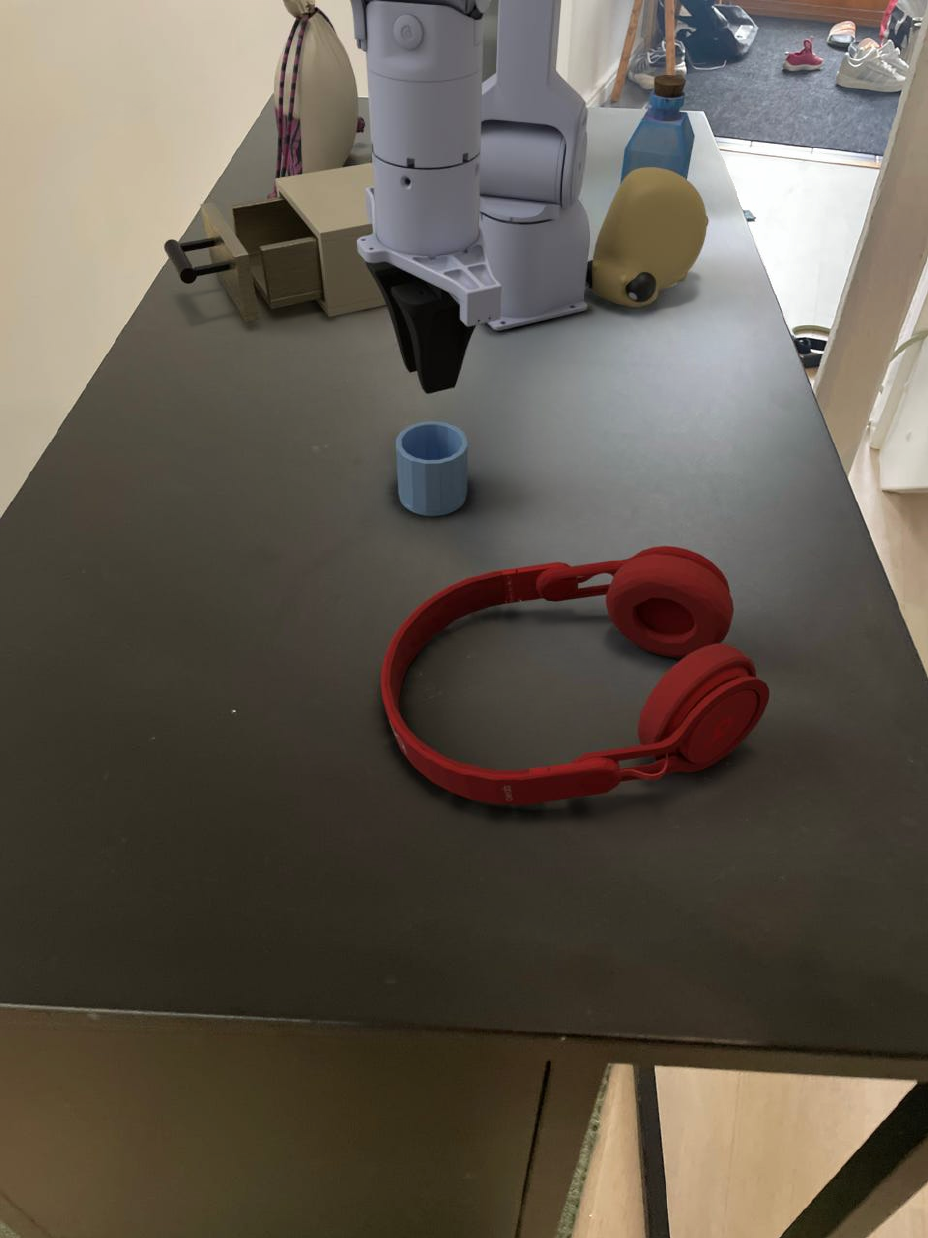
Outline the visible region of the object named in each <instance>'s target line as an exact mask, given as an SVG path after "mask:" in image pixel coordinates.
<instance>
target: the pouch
mask: <svg viewBox="0 0 928 1238" xmlns="http://www.w3.org/2000/svg"><path fill="white" fill-rule="evenodd" d="M282 2H283V5H284V7H285V9H286V11H287V12H288V13H289V14H290V15H291V16H292V17H293V18H295V20H294V22H293V24H292V27H291V30H290V32H289V35H288V37H287V40H286V41H285V43H284V46H283V48H282V51H281V53H280V55H279V59H278V61H277V65H276V69H275V75H274V80H273V81H274V83H273V102H274V103H273V105H274V114H275V122H276V128H277V151H276V153H277V154H276V155H277V156H276V167H275V177H274V180H275V179H276V178H282V177H286V174H287V177H288V176H294V175H300V174H306V173H312V172H318V171H325V170H331V169H337V168H343V167H344V165H345V164H346V162H347V160H348V158H349V157H350V154H351V152H352V150H353V148H354V144H355V142H356V141H355V140H356V136H357V134H359V133H361V134H363V133H364V132H365V127H366V122H365V119H364V118H363V117H362V116H360V115H359V93H358V86H357V85H358V84H357V80H356V75H355V72H354V69H353V66H352V62H351V60H350V56H349V54H348V51H347V50H346V48H345V46H344V44H343V42H342V41H341V39H340V38H339V36H338V33H337V31H336V29H335V27H334V25H333V23H332V21H331V20H330V18H329V17H328V16H327V14H325V13H324V12H323V10H321V9H320V8H319V7H318V6H316V0H282ZM274 197H277V189H276V182H275V181H274V183H273V192H270V193H268V195H267V197H266V199H268V198H274Z"/></svg>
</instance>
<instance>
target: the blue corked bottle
mask: <svg viewBox="0 0 928 1238" xmlns="http://www.w3.org/2000/svg"><path fill="white" fill-rule="evenodd" d="M653 81H654V82H653V87H654V88H653V89H652V90H651V91H650V94H649V102H648V103H649V105H650V106H651V107H648V109H647V110H646V112H645V113H644V115H643V117H642V118H641V120H640V121H639V123H638V125H637V127H636V128H635V130H634V132H633V134H632V135H631V137H630V138H629V140H628V142H627V144H626V146H625V147H624V152H623V159H622V166H621V173H620V174H621V175H620V181H619V185H620V184H621V183H622V181H623V180H624V178H625V177H626V176H627V175H628V174H629V173H630V172H632V171H634V170H636V169H639V168H646V167H655V168H662V169H666V170H670V171H672V172H675V173H677V174H679V175H681V176H682V177H684V178H685V179H687V180H688V177H689V176H688V175H689V170H690V166H691V159H692V154H693V148H694V142H695V138H696V137H695V136H696V135H695V132H694V129H693V126H692V123H691V120H690V117H689V113H688V112H686V111H680V109H681V108H683V107H684V105H685V98H686V93H685V92H684V89H685V86H686V83H687V79H685V78H684V77H682V76H679V75H674V74H661V75H656V76H655V77H654V78H653Z"/></svg>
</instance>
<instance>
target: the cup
mask: <svg viewBox="0 0 928 1238" xmlns="http://www.w3.org/2000/svg"><path fill="white" fill-rule="evenodd" d="M468 443H469V442H468V437H467V435H466V433H465V432H464V431H463V430H462V429H461V428H460V427H457V426H455V425H453V424H452V423H447V422H444V421H437V420H430V421H428V420H427V421H421V422H417V423H413V424H410V425H409V426H406V427H405V428H404V429H402V430H401V431H400V432H399V433H398V435H397V437H396V438H395V453H396V454H395V455H396V473H397V490H398V491H397V492H398V498H399V499H398V500H399V501H400V504H401V505H402V506H403V507H404V508H405V509H407V510H408V511H410V512H412V513H415V514H417V515H420V516H425V517H439V516H445V515H449V514H451V513H453V512H455V511H457V510H458V509H460V508H461V507H462V506H463V505H464V503H465V502H466V500H467V496H468V468H469V467H468V461H469V460H468V459H469V454H468V453H469V452H468V451H469V444H468Z"/></svg>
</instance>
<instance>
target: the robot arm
mask: <svg viewBox="0 0 928 1238" xmlns="http://www.w3.org/2000/svg"><path fill="white" fill-rule="evenodd" d="M349 1H350V6H351V12H352V23H353V34H354V35H353V36H354V40H356V47H357V48H358V49H359V50H361V51H363V52H365V62H366V63H365V64H366V65H365V66H366V79H367V80H366V81H367V95H368V96H367V97H368V99H367V100H368V111H369V129H370V147H371V160H372V161H371V163H373V180H374V187H368V188H365V197H366V212H367V220H368V221H369V222H370V223H371V224H372V225H373V234H371V235H368V236H363V237H360V238H359V239H358V240H357V250H358V253H359V254H360V255H361V256H362V257H363V259H364V260H365V261H366V266H367V268H368V269H369V271H370V273H371V274H372V276H373V277H374V279H375V281H376V283H377V285H378V287H379V289H380V291H381V293H382V295H383V298H384V300H385V302H386V305H385V306H386V308H387V310H388V313H389V316H390V320H391V322H392V326H393V331H394V333H395V337H396V341H397V344H398V348H399V352H400V356H401V358H402V362H403V364H404V366H405V369H406V370H407V372H408V373H409V374H411V373H415V372H416V374H417V377H418V382H419V384H420V386H421V389H422V390H423V392H424V393H425V394H426V395H430V394H435V393H438V392H443V391H445V390H449V389H454V388H456V386H457V383H458V380H459V376H460V373H461V369H462V367H463V364H464V363H463V362H464V360H465V359H464V358H465V356H466V353H467V349H468V347H469V343H470V342H471V341H470V340H471V338H472V335H473V334H474V331H475V329H476V327H477V325H483V324H486V323H487V325H488V326H490V327H491V328H492V329H493V330H494V331H498V332H499V331H500V332H501V331H504V330H508V329H512V328H516V327H520V326H526V325H530V324H533V323H538V322H542V321H547V320H550V319H555V318H558V317H563V316H568V315H573V314H576V313H580V312H584V311H586V310H588V303H587V302H585V300H584V298H585V289H586V286H585V282H586V273H587V264H588V261H589V256H590V255H589V254H590V245H591V230H590V221H589V217H588V214H587V211H586V208H585V207H584V205H583V203H582V202H581V200H580V199H579V198H580V195H581V191H582V186H583V181H584V175H585V168H586V161H587V152H588V151H587V150H588V132H587V125H588V115H589V109H588V108H587V107H586V106H587V102H586V100H585V99H584V98H583V96H582V95H581V94H580V93H578V91H577V90H576V89H574V88H573V87H572V86H571V85H570V84H569V82H567V81H566V80H565V79H564V78H563V77H562V76H561V74H559V72H558V71H557V64H558V63H557V61H558V49H559V35H560V23H561V9H562V0H499V7H498V35H497V62H496V73H495V74H494V75H493V76H491V77H490V78H488V79H487V80H486V81H484V82H483V83H482V65H483V20H484V12H486V10H487V9H488V7H489V5H490V2H491V0H349Z"/></svg>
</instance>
